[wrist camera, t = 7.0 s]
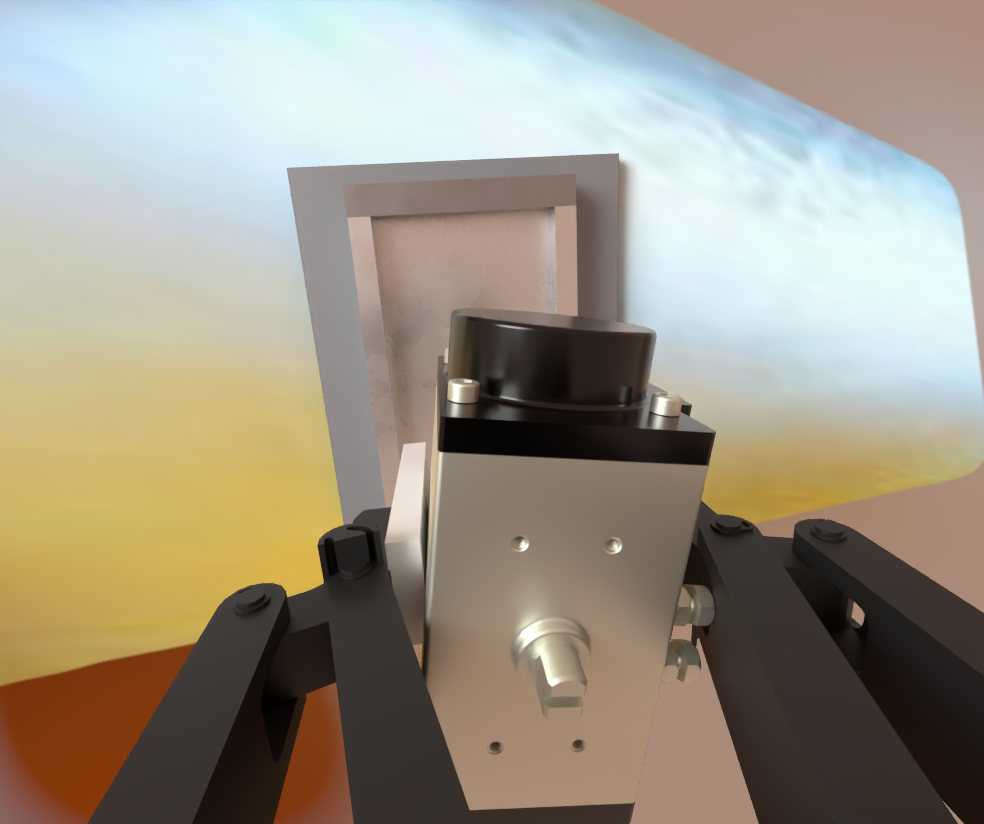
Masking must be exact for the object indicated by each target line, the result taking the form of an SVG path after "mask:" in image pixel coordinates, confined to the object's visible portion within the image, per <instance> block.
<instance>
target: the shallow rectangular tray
mask: <svg viewBox="0 0 984 824" xmlns="http://www.w3.org/2000/svg"><path fill="white" fill-rule="evenodd" d="M343 189H344V197H345V205H346V212H347V220H348V227H349V235H350V242H351V250H352V257H353V265H354V272H355V280H356V287H357V295H358V302H359V310H360V317H361V325H362V332H363V340H364V347H365V355H366V362H367V370H368V378H369V385H370V393H371V400H372V408H373V415H374V423H375V430H376V438H377V445H378V453H379V460H380V468H381V475H382V483H383V490H384V498H385V505H386V508H387V507H392V502H393V497H394V492H395V487H396V482H397V476H398V471H399V466H400V461H401V456H402V450H403V445H404V444H410V443H420V442H426V449H427V459H428V469H429V478H430V475H431V460H432V444H433V429H434V414H435V398H436V383H437V368H438V356H439V355H443V356H444V355H445V350H446V349H449V336H450V322H451V313H452V312H453V311H454V310H456V309H464V308H480V309H501V310H516V311H529V312H540V313H550V314H560V315H569V316H578V298H577V221H576V174H562V175H540V176H519V177H498V178H477V179H456V180H434V181H413V182H392V183H371V184H350V185H343Z"/></svg>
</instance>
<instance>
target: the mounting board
mask: <svg viewBox="0 0 984 824" xmlns="http://www.w3.org/2000/svg"><path fill="white" fill-rule="evenodd" d="M287 172H288V179H289V185H290V191H291V197H292V203H293V210H294V216H295V222H296V228H297V235H298V241H299V247H300V253H301V260H302V266H303V272H304V278H305V285H306V291H307V297H308V303H309V309H310V316H311V322H312V328H313V334H314V341H315V347H316V353H317V359H318V366H319V372H320V378H321V384H322V391H323V397H324V403H325V409H326V415H327V422H328V428H329V434H330V440H331V447H332V453H333V459H334V465H335V472H336V478H337V484H338V490H339V496H340V503H341V509H342V515H343V521H344V525H347V524H352V523H353V520H354V519H355V518H356V517H357V516H358V515H359V514H360V513H361V512H362V511H363V510H368V509H378V508H386V505H385V498H384V490H383V483H382V475H381V468H380V460H379V453H378V445H377V438H376V430H375V423H374V415H373V408H372V400H371V393H370V385H369V378H368V370H367V362H366V355H365V347H364V340H363V332H362V325H361V317H360V310H359V302H358V295H357V287H356V280H355V272H354V265H353V257H352V250H351V242H350V235H349V227H348V220H347V212H346V205H345V197H344V189H343V185H350V184H371V183H392V182H413V181H434V180H456V179H477V178H498V177H519V176H540V175H562V174H576V221H577V298H578V317H586V318H594V319H601V320H608V321H615V322H617V305H618V193H619V153H618V154H595V155H572V156H550V157H527V158H504V159H481V160H458V161H435V162H413V163H390V164H367V165H344V166H321V167H299V168H287Z"/></svg>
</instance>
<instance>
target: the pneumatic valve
mask: <svg viewBox="0 0 984 824" xmlns="http://www.w3.org/2000/svg"><path fill="white" fill-rule="evenodd" d="M656 337H657V336H656V332H655V331H654V330H652V329H650V328H647V327H643V326H638V325H633V324H627V323H621V322H615V321H608V320H601V319H594V318H586V317H578V316H569V315H560V314H550V313H540V312H529V311H516V310H501V309H480V308H464V309H456V310H454V311H453V312H452V313H451V322H450V336H449V349H446V350H445V355H444V356H443V355H439V356H438V368H437V383H436V398H435V414H434V429H433V444H432V460H431V475H430V490H429V506H428V529H427V557H426V586H425V603H424V618H423V633H422V644H420V652H419V665H420V668H421V671H422V674H423V677H424V680H425V683H426V685H427V688H428V691H429V694H430V697H431V700H432V703H433V706H434V709H435V711H436V714H437V717H438V720H439V723H440V726H441V729H442V732H443V734H444V737H445V740H446V743H447V746H448V749H449V752H450V755H451V758H452V760H453V763H454V766H455V769H456V772H457V775H458V778H459V781H460V783H461V786H462V789H463V792H464V795H465V798H466V801H467V804H468V807H469V809H470V812H471V815H472V818H473V821H474V824H630V822H631V818H632V813H633V809H634V804H635V799H636V795H637V790H638V786H639V781H640V776H641V771H642V767H643V763H644V758H645V754H646V749H647V745H648V740H649V735H650V731H651V726H652V722H653V717H654V713H655V708H656V704H657V699H658V694H659V690H660V685H661V682H663V683H672V682H673V681H674V680H675V679H678V680H680V681H682V682H695V681H696V680H697V679H698V678H699V676H700V673H701V661H700V656H699V653H698V650H697V648H696V647H695V645H694V644H693V643H692V642H691V641H687V640H681V639H676V640H675V639H672V640H671V635H672V630H673V626H674V625H675V626H676V625H677V626H685V625H686V624H687V623H690V624H693V625H697V626H708V625H709V624H710V623H711V622H712V621H713V619H714V615H715V604H714V600H713V597H712V594H711V592H710V591H709V589H708V588H707V587H706V586H703V585H689V584H683V580H684V576H685V571H686V567H687V562H688V557H689V553H690V548H691V544H692V539H693V535H694V530H695V525H696V521H697V516H698V512H699V507H700V503H701V498H702V493H703V489H704V484H705V480H706V475H707V471H708V466H709V461H710V457H711V452H712V448H713V443H714V439H715V434H716V431H714V430H712V429H711V428H709V427H707V426H705V425H703V424H702V423H700V422H698V421H696V420H694V419H693V418H691V417H690V412H691V407H692V404H690V403H688V402H686V401H684V400H683V399H682V397H680V396H678V395H675V394H671V393H668V392H666V391H664V390H662V389H660V388H658V387H656V386H654V385H652V384H650V383H648V382H649V377H650V371H651V365H652V360H653V354H654V348H655V342H656ZM682 585H683V586H682ZM670 640H671V642H670Z"/></svg>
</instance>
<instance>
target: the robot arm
mask: <svg viewBox="0 0 984 824" xmlns="http://www.w3.org/2000/svg"><path fill="white" fill-rule="evenodd" d="M429 490H430V478H429V469H428V459H427V449H426V442H420V443H410V444H404V445H403V450H402V456H401V461H400V466H399V471H398V476H397V482H396V487H395V492H394V497H393V502H392V507H387V508H378V509H368V510H363V511H362V512H361V513H360V514H359V515H358V516H357V517H356V518H355V519H354V520H353V523H352V524H347V525H343V526H340V527H337V528H334V529H332V530H331V531H329V532H327V533H325V534H324V535H323V536H322V537H321V538H320V539H319V542H318V550H319V556H320V562H321V567H322V573H323V578H324V583H323V584H322V585H320V586H318V587H316V588H314V589H312V590H309V591H306V592H304V593H300V594H297V595H294V596H291V597H287V595H286V591H285V589H284V588H283V587H282V586H280V585H277V584H274V583H261V584H257V585H251V586H248V587H245V588H244V589H240V590H238V591H237V592H235V593H234V594H232V595H231V596H229V597H228V598H226V599H225V600H224V601H223V602H222V603H221V604H220V606H219V607H218V608H217V610H216V611H215V613H214V615H213V616H212V618H211V620H210V621H209V623H208V625H207V626H206V628H205V630H204V631H203V633H202V635H201V636H200V638H199V640H198V641H197V643H196V645H195V646H194V648H193V650H192V651H191V653H190V655H189V656H188V658H187V660H186V661H185V663H184V665H183V666H182V668H181V670H180V671H179V673H178V675H177V676H176V678H175V679H174V681H173V683H172V684H171V686H170V688H169V689H168V691H167V693H166V695H165V696H164V698H163V699H162V701H161V703H160V704H159V706H158V708H157V709H156V711H155V713H154V714H153V716H152V718H151V719H150V721H149V723H148V724H147V726H146V728H145V729H144V731H143V733H142V734H141V736H140V738H139V739H138V741H137V743H136V744H135V746H134V748H133V749H132V751H131V752H130V755H129V756H128V757H127V759H126V761H125V763H124V764H123V766H122V767H121V769H120V771H119V773H118V774H117V776H116V778H115V779H114V781H113V782H112V784H111V786H110V787H109V789H108V791H107V793H106V794H105V796H104V797H103V799H102V801H101V802H100V804H99V806H98V807H97V809H96V811H95V812H94V814H93V816H92V817H91V819H90V821H89V822H88V824H273V823H274V819H275V815H276V811H277V808H278V804H279V800H280V796H281V792H282V788H283V785H284V781H285V777H286V774H287V770H288V766H289V762H290V758H291V754H292V751H293V747H294V743H295V739H296V736H297V732H298V728H299V724H300V721H301V717H302V712H303V709H304V705H305V701H306V694H307V693H309V692H312V691H314V690H317V689H319V688H322V687H324V686H327V685H330V684H332V683H335V682H336V683H337V691H338V698H339V707H340V714H341V723H342V731H343V739H344V747H345V755H346V764H347V772H348V780H349V788H350V796H351V804H352V812H353V820H354V824H474V821H473V818H472V815H471V812H470V809H469V807H468V804H467V801H466V798H465V795H464V792H463V789H462V786H461V783H460V781H459V778H458V775H457V772H456V769H455V766H454V763H453V760H452V758H451V755H450V752H449V749H448V746H447V743H446V740H445V737H444V734H443V732H442V729H441V726H440V723H439V720H438V717H437V714H436V711H435V709H434V706H433V703H432V700H431V697H430V694H429V691H428V688H427V685H426V683H425V680H424V677H423V674H422V671H421V668H420V665H419V662H418V660H417V657H416V654H415V651H414V648H413V645H418V644H422V633H423V618H424V603H425V586H426V557H427V529H428V506H429ZM683 584H689V585H703V586H706V587H707V588H708V589H709V591H710V592H711V594H712V597H713V600H714V604H715V615H714V619H713V621H712V622H711V623H710V624H709V625H708V626H697V625H693V624H692V638H691V642H692V643H693V644H694V645H695V646H696V645H697V639H698V638H699V639H700V642H701V645H702V648H703V652H704V655H705V658H706V661H707V664H708V667H709V670H710V673H711V676H712V680H713V683H714V686H715V689H716V692H717V695H718V698H719V701H720V704H721V707H722V711H723V714H724V717H725V720H726V723H727V726H728V729H729V732H730V735H731V738H732V741H733V744H734V748H735V751H736V754H737V757H738V760H739V763H740V767H741V770H742V773H743V776H744V779H745V782H746V785H747V788H748V791H749V794H750V798H751V800H752V803H753V806H754V810H755V813H756V816H757V819H758V822H759V824H958V823H957V822H956V820H955V819H954V817H953V816H952V814H951V813H950V811H949V810H948V808H947V807H946V805H945V804H944V802H945V803H946V804H947V805H948V807H950V809H951V810H952V811H953V812H954V813H955V814H956V815H957V816H958V817H959V818H960V820H961V821H962V822H963V823H964V824H984V613H983V612H981V611H979V610H978V609H976V608H975V607H973V606H972V605H970V604H969V603H967V602H966V601H964V600H962V599H961V598H960V597H958V596H956V595H955V594H953V593H952V592H950V591H949V590H947V589H945V588H944V587H942V586H941V585H939V584H938V583H936V582H935V581H933V580H932V579H930V578H929V577H927V576H925V575H924V574H922V573H921V572H919V571H918V570H916V569H914V568H913V567H911V566H910V565H908V564H907V563H905V562H904V561H902V560H901V559H899V558H897V557H896V556H894V555H893V554H891V553H890V552H888V551H887V550H885V549H884V548H882V547H880V546H879V545H877V544H876V543H874V542H873V541H871V540H869V539H868V538H866V537H865V536H863V535H862V534H860V533H859V532H857V531H855V530H854V529H851V528H850V527H847V526H845V525H842V524H839V523H836V522H835V521H832V520H825V519H807V520H803V521H799V522H798V523H797V524H795V527H794V535H793V538H783V537H767V536H763V535H762V534H761V533H760V531H759V529H758V528H757V527H756V526H755V525H753V524H752V523H751V522H749V521H747V520H745V519H742V518H738V517H735V516H730V515H721V514H720V515H717V514H716V513H715V512H714V511H713V510H712V509H710V508H709V507H708V506H707V505H706V504H705V503H703V502H702V501H701V503H700V507H699V512H698V516H697V521H696V525H695V530H694V535H693V539H692V544H691V548H690V553H689V557H688V562H687V567H686V571H685V576H684V580H683ZM682 586H683V585H682ZM854 602H855V603H857V604H858V606H859V607H860V608H861V609H862V610H863V612H864V614H865V617H864V623H863V625H862V626H861V625H860V624H858V623H857V622H856V621H855V620H854V619H853V618H851V615H852V610H853V603H854ZM942 800H943V801H944V802H943V801H942Z"/></svg>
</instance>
